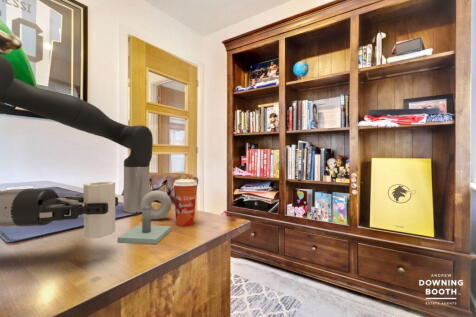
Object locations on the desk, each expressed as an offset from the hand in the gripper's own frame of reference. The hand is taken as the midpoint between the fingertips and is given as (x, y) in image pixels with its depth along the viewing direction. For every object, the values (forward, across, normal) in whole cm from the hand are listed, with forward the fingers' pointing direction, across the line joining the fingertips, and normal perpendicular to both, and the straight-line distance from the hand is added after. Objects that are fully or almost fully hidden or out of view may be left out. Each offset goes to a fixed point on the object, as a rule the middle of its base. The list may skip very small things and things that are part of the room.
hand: (112, 204), depth 49 cm
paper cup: (+15, +20, +12) cm, 27 cm away
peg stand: (+5, +10, +11) cm, 16 cm away
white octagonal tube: (-3, 0, +6) cm, 7 cm away
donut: (+5, +25, +12) cm, 28 cm away
